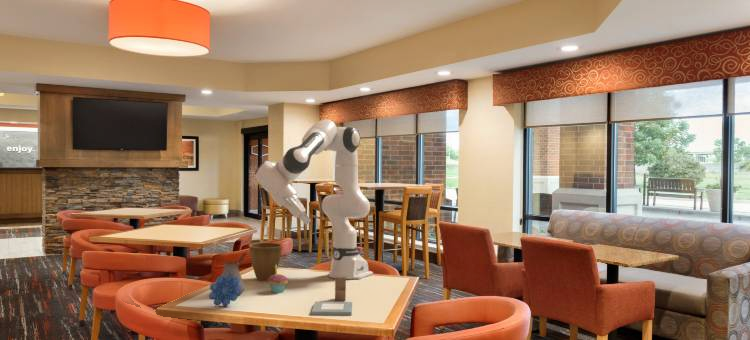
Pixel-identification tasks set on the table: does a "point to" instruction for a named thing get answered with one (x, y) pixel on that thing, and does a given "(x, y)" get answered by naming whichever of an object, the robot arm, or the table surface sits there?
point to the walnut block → (340, 288)
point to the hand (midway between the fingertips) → (309, 223)
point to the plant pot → (265, 259)
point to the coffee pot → (234, 271)
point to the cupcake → (277, 282)
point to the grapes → (225, 290)
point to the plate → (332, 308)
